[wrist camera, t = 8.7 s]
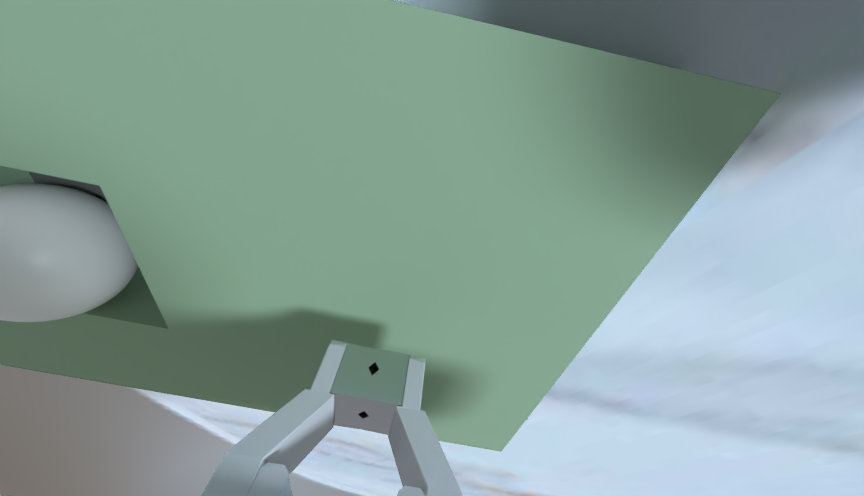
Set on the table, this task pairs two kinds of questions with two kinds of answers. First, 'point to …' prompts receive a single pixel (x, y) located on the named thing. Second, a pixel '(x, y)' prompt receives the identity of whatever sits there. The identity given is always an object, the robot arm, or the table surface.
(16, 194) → the ball
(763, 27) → the table surface
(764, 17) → the table surface
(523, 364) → the green
